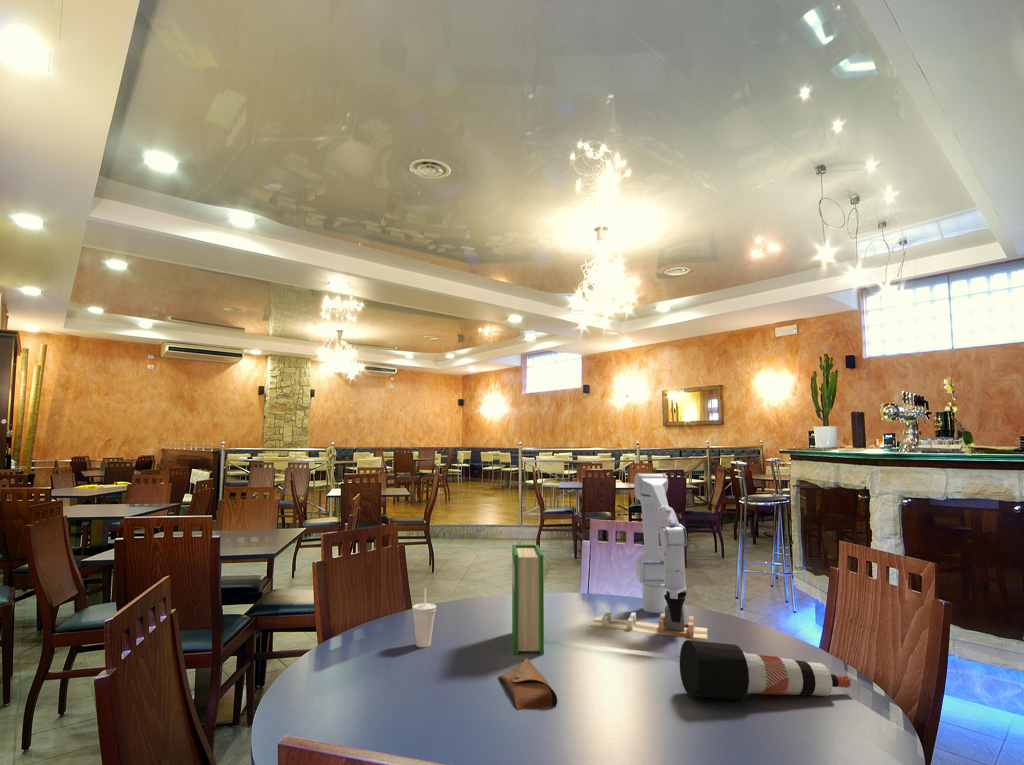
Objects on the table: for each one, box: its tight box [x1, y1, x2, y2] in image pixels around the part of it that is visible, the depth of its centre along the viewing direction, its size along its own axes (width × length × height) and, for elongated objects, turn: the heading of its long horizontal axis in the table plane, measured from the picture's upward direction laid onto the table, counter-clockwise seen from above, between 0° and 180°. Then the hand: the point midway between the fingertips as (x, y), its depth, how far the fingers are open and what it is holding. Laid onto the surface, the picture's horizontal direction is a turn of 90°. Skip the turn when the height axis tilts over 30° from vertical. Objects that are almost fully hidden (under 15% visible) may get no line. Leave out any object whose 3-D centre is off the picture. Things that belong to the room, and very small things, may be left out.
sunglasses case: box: [497, 657, 558, 711], centre depth 114 cm, size 18×7×7 cm
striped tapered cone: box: [679, 639, 852, 701], centre depth 112 cm, size 10×34×10 cm, turn 94°
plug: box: [664, 605, 686, 630], centre depth 152 cm, size 4×5×6 cm
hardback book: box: [511, 544, 545, 656], centre depth 145 cm, size 18×7×24 cm, turn 2°
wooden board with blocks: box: [588, 609, 708, 642], centre depth 154 cm, size 10×32×4 cm, turn 70°
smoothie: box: [411, 588, 437, 648], centre depth 143 cm, size 6×6×14 cm
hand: (676, 619), depth 152 cm, fingers closed on plug, 4 cm apart
